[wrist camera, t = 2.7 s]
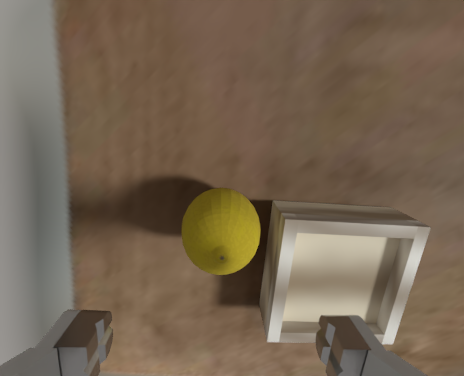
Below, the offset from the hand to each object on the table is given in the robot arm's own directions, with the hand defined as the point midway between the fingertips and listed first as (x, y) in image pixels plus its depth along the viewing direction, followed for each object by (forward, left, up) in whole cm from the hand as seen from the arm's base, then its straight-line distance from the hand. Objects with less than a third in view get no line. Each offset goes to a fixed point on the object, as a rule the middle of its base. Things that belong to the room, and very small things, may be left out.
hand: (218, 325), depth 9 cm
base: (+4, +10, -12) cm, 16 cm away
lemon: (0, 0, -12) cm, 12 cm away
